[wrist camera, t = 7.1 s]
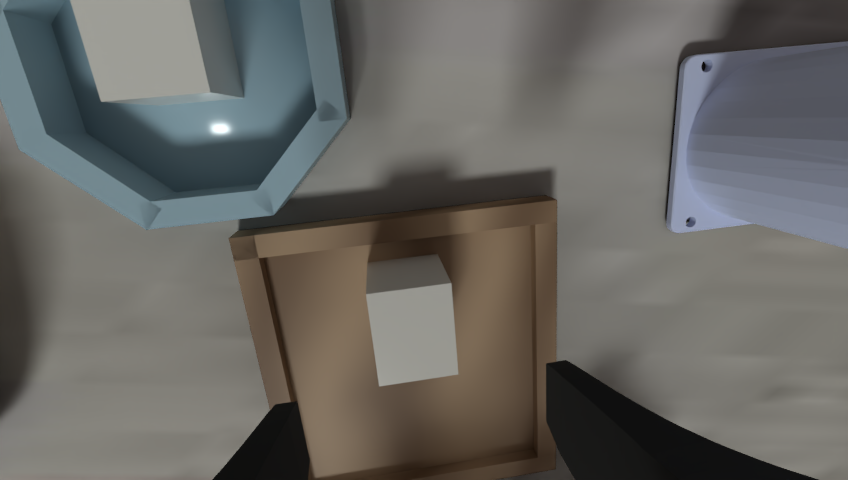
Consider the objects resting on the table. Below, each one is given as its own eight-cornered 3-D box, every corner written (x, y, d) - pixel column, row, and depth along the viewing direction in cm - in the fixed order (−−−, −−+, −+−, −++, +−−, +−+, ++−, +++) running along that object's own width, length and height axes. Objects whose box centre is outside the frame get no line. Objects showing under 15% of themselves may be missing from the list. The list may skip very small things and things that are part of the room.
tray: (545, 195, 19) (557, 200, 18) (546, 452, 23) (555, 469, 22) (238, 230, 18) (228, 238, 17) (299, 494, 22) (295, 514, 21)
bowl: (320, -105, 15) (309, -148, 12) (361, 194, 18) (359, 206, 16) (-8, -89, 14) (-87, -133, 12) (97, 223, 17) (52, 240, 15)
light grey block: (220, -19, 15) (176, -59, 11) (244, 98, 16) (210, 92, 13) (127, -12, 15) (54, -52, 11) (158, 105, 16) (100, 101, 12)
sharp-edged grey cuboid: (437, 253, 19) (451, 282, 15) (444, 331, 20) (458, 374, 16) (367, 262, 18) (365, 294, 15) (378, 341, 20) (379, 386, 16)
